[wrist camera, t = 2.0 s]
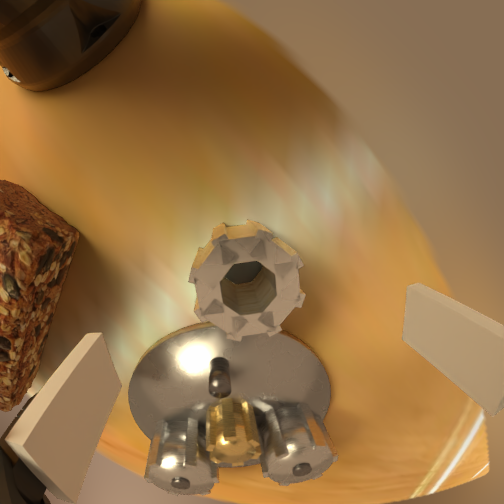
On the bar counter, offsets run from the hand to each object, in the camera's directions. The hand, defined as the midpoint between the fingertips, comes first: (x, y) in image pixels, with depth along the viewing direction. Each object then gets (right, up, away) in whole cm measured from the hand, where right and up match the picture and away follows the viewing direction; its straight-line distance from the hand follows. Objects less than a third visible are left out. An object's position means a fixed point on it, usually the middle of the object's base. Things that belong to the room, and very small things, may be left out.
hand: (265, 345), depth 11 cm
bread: (-23, 0, +10) cm, 25 cm away
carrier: (-3, -12, +14) cm, 19 cm away
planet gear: (-1, +3, +11) cm, 12 cm away
